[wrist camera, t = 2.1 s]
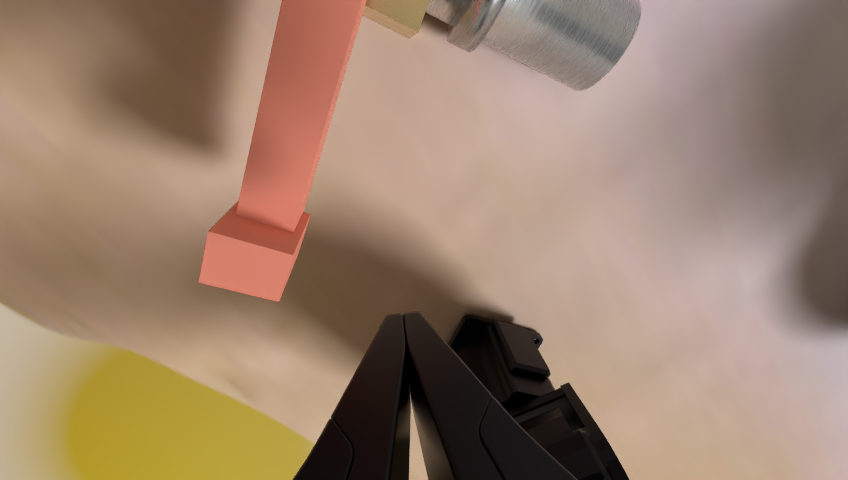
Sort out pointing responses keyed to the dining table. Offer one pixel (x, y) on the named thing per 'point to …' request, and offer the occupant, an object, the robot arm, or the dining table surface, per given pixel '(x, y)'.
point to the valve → (528, 31)
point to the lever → (284, 149)
